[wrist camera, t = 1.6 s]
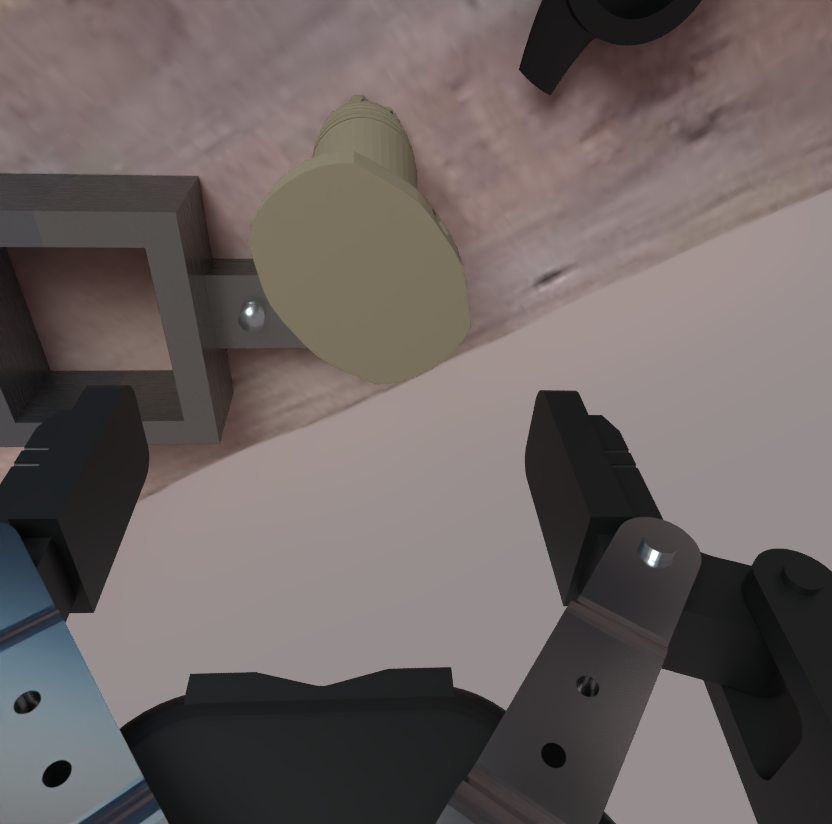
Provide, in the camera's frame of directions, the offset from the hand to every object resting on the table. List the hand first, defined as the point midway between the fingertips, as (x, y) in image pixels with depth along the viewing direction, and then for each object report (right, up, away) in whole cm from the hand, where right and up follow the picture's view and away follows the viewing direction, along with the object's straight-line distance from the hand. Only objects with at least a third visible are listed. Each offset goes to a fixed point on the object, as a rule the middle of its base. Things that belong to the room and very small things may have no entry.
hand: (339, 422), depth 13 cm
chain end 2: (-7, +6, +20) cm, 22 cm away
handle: (-1, +13, +16) cm, 20 cm away
